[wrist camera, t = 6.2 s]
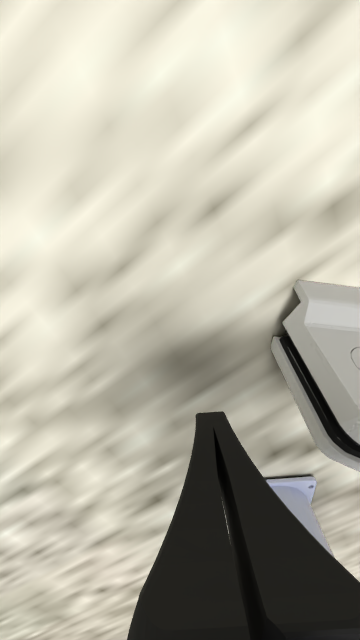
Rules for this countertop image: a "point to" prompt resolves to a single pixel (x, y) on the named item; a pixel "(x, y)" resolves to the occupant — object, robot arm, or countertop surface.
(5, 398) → the countertop surface
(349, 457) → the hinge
